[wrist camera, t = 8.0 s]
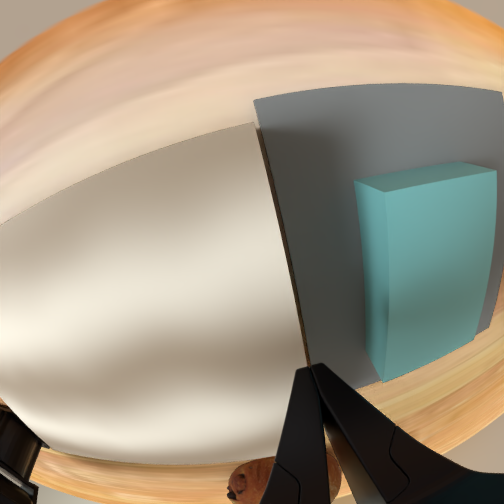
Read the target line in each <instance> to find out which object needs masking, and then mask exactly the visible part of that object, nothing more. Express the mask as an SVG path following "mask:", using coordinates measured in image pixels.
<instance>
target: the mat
mask: <svg viewBox="0 0 504 504" xmlns="http://www.w3.org/2000/svg"><path fill="white" fill-rule="evenodd" d="M253 102H254V106H255V109H256V113H257V117H258V121H259V125H260V129H261V133H262V136H263V140H264V144H265V148H266V152H267V156H268V161H269V165H270V169H271V173H272V177H273V181H274V186H275V190H276V194H277V199H278V203H279V207H280V212H281V216H282V221H283V225H284V230H285V234H286V239H287V244H288V248H289V253H290V258H291V263H292V268H293V273H294V278H295V283H296V288H297V293H298V298H299V303H300V308H301V314H302V319H303V324H304V330H305V335H306V341H307V347H308V352H309V358H310V364H311V365H313V364H317V363H320V362H322V363H324V364H325V365H326V366H327V367H329V368H330V369H331V370H332V371H333V372H334V373H335V374H337V375H338V376H339V377H340V378H341V379H342V380H344V381H345V382H346V383H347V384H348V385H349V386H351V387H352V388H353V389H354V390H355V389H358V388H361V387H364V386H367V385H370V384H372V383H375V382H378V381H380V380H381V379H380V377H379V375H378V373H377V371H376V369H375V367H374V365H373V364H372V362H371V360H370V358H369V356H368V354H367V353H366V351H365V347H366V321H365V288H364V270H363V257H362V245H361V234H360V225H359V216H358V208H357V201H356V194H355V187H354V180H356V179H361V178H366V177H371V176H377V175H382V174H387V173H393V172H398V171H404V170H409V169H415V168H421V167H427V166H433V165H440V164H446V163H453V162H464V163H469V164H473V165H477V166H481V167H485V168H489V169H493V170H496V171H497V208H496V225H495V237H494V246H493V254H492V261H491V268H490V274H489V280H488V285H487V290H486V295H485V299H484V304H483V308H482V312H481V316H480V319H479V323H478V327H477V330H476V334H475V335H477V334H479V333H480V332H482V331H484V330H485V329H487V328H489V325H490V322H491V318H492V315H493V311H494V308H495V304H496V300H497V296H498V291H499V287H500V282H501V277H502V272H503V267H504V101H503V96H502V92H498V91H492V90H486V89H479V88H471V87H462V86H451V85H437V84H407V83H398V84H366V85H351V86H340V87H330V88H321V89H314V90H306V91H300V92H293V93H287V94H281V95H276V96H271V97H266V98H261V99H256V100H254V101H253Z"/></svg>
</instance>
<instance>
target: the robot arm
mask: <svg viewBox="0 0 504 504" xmlns="http://www.w3.org/2000/svg"><path fill="white" fill-rule="evenodd" d="M323 425H324V426H323ZM324 428H325V431H326V433H327V436H328V438H329V440H330V443H331V445H332V447H333V450H334V452H335V454H336V457H337V459H338V461H339V464H340V466H341V468H342V471H343V473H344V475H345V478H346V480H347V482H348V485H349V487H350V489H351V491H352V494H353V496H354V498H355V501H356V503H357V504H504V473H484V472H477V471H473V470H470V469H467V468H465V467H463V466H461V465H459V464H457V463H455V462H453V461H451V460H449V459H447V458H446V457H444V456H442V455H440V454H438V453H436V452H435V451H433V450H431V449H430V448H428V447H426V446H425V445H423V444H421V443H420V442H418V441H417V440H415V439H414V438H413V437H411V436H410V435H409V434H407V433H406V432H405V431H404V430H402V429H401V428H400V427H399V426H396V424H395V423H393V422H392V421H391V420H390V419H389V418H387V417H386V416H385V415H384V414H383V413H381V412H380V411H379V410H378V409H377V408H375V407H374V406H373V405H372V404H371V403H369V402H368V401H367V400H366V399H365V398H363V397H362V396H361V395H360V394H359V393H358V392H356V391H355V390H354V389H353V388H352V387H351V386H349V385H348V384H347V383H346V382H345V381H344V380H342V379H341V378H340V377H339V376H338V375H337V374H335V373H334V372H333V371H332V370H331V369H330V368H329V367H327V366H326V365H325V364H324V363H322V362H320V363H317V364H313V365H311V366H310V368H309V367H308V366H306V367H302V368H298V369H296V371H295V376H294V380H293V385H292V390H291V394H290V399H289V403H288V408H287V412H286V416H285V421H284V425H283V429H282V433H281V437H280V441H279V445H278V449H277V452H276V456H275V460H274V462H275V463H273V467H272V470H271V474H270V477H269V480H268V483H267V486H266V489H265V491H264V493H263V496H262V498H261V500H260V502H259V504H331V500H330V487H329V475H328V464H327V453H326V444H325V435H324ZM41 447H44V448H48V449H50V446H49V445H47V444H46V443H45V442H44V441H43V440H42V439H41V438H40V437H38V436H37V435H36V434H35V433H34V432H33V431H32V430H31V429H30V428H29V427H28V426H27V425H26V424H25V423H24V422H23V421H22V420H21V419H20V418H19V417H18V416H17V415H16V414H15V413H14V412H13V411H12V409H8V408H3V407H0V470H1V471H2V472H4V473H5V474H6V475H8V476H9V477H11V478H12V479H14V480H15V481H17V482H18V483H20V484H21V485H22V486H21V487H19V486H17V485H16V484H14V483H13V482H12V481H10V480H9V479H7V478H6V477H5V476H3V475H2V474H1V473H0V504H36V503H37V495H38V488H39V487H38V486H36V485H35V484H32V483H31V482H29V479H30V476H31V473H32V470H33V467H34V465H35V462H36V459H37V457H38V454H39V452H40V449H41Z"/></svg>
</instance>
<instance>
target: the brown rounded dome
mask: <svg viewBox="0 0 504 504" xmlns="http://www.w3.org/2000/svg"><path fill="white" fill-rule="evenodd" d="M274 460H275V456H271V457H266V458H261V459H256V460H253V461H250V462H248V463H245V464H243V465H241V466H239V467H238V468H237V469H236V470H235V471H234V472H233V473H232V474H231V477H230V479H229V486H228V487H227V489H228V490H229V493H228V494H227V497H228V498H229V499H230V500H231V501H232V503H233V504H259V502H260V500H261V498H262V496H263V493H264V491H265V489H266V486H267V483H268V480H269V477H270V474H271V470H272V467H273V463H275V462H274ZM327 464H328V475H329V487H330V500H331V503H332V502H333V500H334V499H335V497H336V496H337V494H338V492H339V489H340V486H341V469H340V467H339V465H338V463H337V461H336V459H335V458H334V457H333V456H331V455H329V454H328V453H327Z"/></svg>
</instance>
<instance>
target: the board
mask: <svg viewBox="0 0 504 504" xmlns="http://www.w3.org/2000/svg"><path fill="white" fill-rule="evenodd" d="M306 366H307V361H306V356H305V350H304V345H303V340H302V334H301V329H300V324H299V319H298V314H297V309H296V304H295V299H294V294H293V289H292V284H291V279H290V275H289V270H288V265H287V261H286V256H285V251H284V247H283V242H282V238H281V233H280V229H279V224H278V220H277V216H276V211H275V207H274V203H273V198H272V194H271V190H270V186H269V182H268V177H267V173H266V169H265V165H264V161H263V157H262V153H261V149H260V145H259V141H258V137H257V133H256V129H255V126H254V122H251V123H247V124H243V125H239V126H235V127H231V128H227V129H223V130H219V131H216V132H212V133H209V134H205V135H202V136H198V137H195V138H192V139H189V140H185V141H182V142H179V143H176V144H173V145H170V146H167V147H164V148H161V149H158V150H156V151H153V152H150V153H147V154H145V155H142V156H139V157H137V158H134V159H131V160H129V161H126V162H124V163H121V164H119V165H116V166H114V167H112V168H109V169H107V170H105V171H102V172H100V173H98V174H95V175H93V176H91V177H89V178H87V179H84V180H82V181H80V182H78V183H76V184H74V185H72V186H70V187H68V188H66V189H64V190H62V191H60V192H58V193H56V194H54V195H52V196H50V197H48V198H46V199H45V200H43V201H41V202H39V203H37V204H36V205H34V206H32V207H30V208H28V209H27V210H25V211H23V212H22V213H20V214H18V215H17V216H15V217H13V218H12V219H10V220H8V221H7V222H5V223H4V224H2V225H1V226H0V397H1V398H2V399H3V401H4V402H5V403H6V404H7V405H8V406H9V407H10V408H11V409H12V411H13V412H14V413H15V414H16V415H17V416H18V417H19V418H20V419H21V420H22V421H23V422H24V423H25V424H26V425H27V426H28V427H29V428H30V429H31V430H32V431H33V432H34V433H35V434H36V435H37V436H38V437H40V438H41V439H42V440H43V441H44V442H45V443H46V444H47V445H49V446H50V447H51V448H52V449H53V450H56V451H60V452H65V453H69V454H74V455H79V456H84V457H90V458H96V459H103V460H110V461H119V462H129V463H142V464H165V465H188V464H212V463H225V462H235V461H244V460H252V459H259V458H265V457H271V456H276V452H277V449H278V445H279V441H280V437H281V433H282V429H283V425H284V421H285V416H286V412H287V408H288V403H289V399H290V394H291V390H292V385H293V380H294V376H295V371H296V369H298V368H302V367H306Z"/></svg>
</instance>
